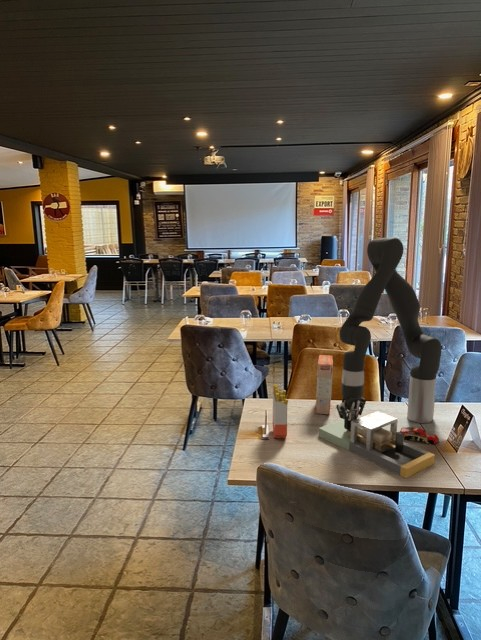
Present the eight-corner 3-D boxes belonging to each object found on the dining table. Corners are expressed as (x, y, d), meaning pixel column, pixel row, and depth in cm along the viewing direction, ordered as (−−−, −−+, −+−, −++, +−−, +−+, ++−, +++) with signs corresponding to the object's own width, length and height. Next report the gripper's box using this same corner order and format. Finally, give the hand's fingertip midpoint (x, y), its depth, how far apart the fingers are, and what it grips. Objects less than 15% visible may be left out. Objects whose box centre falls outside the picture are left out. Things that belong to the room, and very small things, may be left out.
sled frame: (356, 424, 173) (357, 409, 172) (411, 447, 156) (412, 430, 154) (338, 432, 167) (338, 415, 166) (392, 456, 150) (393, 439, 148)
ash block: (367, 433, 167) (367, 422, 166) (391, 443, 159) (392, 432, 158) (355, 437, 164) (356, 426, 163) (380, 448, 156) (380, 437, 155)
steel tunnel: (376, 431, 169) (377, 411, 167) (396, 439, 162) (397, 418, 161) (350, 441, 160) (351, 420, 159) (369, 450, 154) (371, 429, 153)
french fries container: (284, 428, 178) (285, 382, 174) (287, 441, 167) (288, 392, 164) (272, 428, 178) (272, 382, 174) (274, 441, 167) (275, 392, 164)
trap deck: (346, 425, 181) (346, 417, 180) (434, 463, 152) (434, 454, 152) (318, 435, 172) (318, 428, 171) (405, 478, 144) (406, 469, 143)
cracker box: (330, 415, 190) (332, 364, 186) (315, 414, 191) (317, 363, 187) (331, 402, 203) (333, 355, 199) (316, 401, 204) (318, 354, 200)
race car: (439, 440, 169) (440, 430, 168) (438, 447, 164) (439, 436, 163) (400, 433, 174) (401, 423, 174) (398, 439, 170) (398, 429, 169)
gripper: (357, 375, 173) (354, 419, 176) (330, 382, 164) (328, 429, 168) (374, 380, 167) (371, 426, 170) (347, 388, 159) (345, 437, 162)
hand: (350, 428), depth 169 cm, fingers closed on sled frame, 2 cm apart
